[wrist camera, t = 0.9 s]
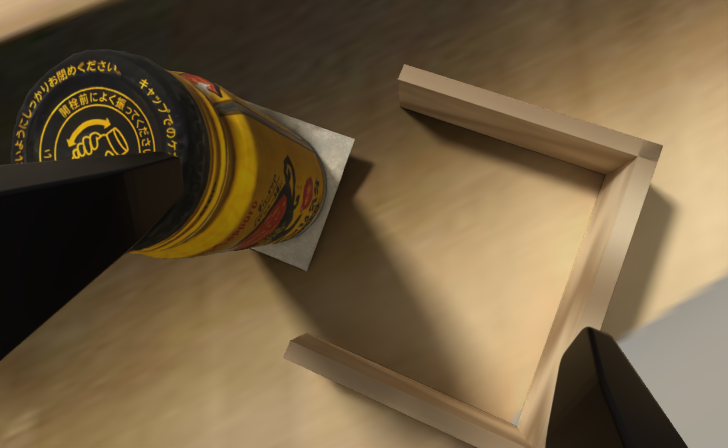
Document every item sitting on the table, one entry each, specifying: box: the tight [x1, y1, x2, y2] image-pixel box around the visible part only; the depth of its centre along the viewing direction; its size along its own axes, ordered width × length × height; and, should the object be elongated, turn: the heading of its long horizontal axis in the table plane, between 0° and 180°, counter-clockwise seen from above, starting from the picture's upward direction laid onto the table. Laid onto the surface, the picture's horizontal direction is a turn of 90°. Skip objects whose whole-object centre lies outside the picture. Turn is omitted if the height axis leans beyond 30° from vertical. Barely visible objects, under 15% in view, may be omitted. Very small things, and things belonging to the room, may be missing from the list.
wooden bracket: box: [283, 64, 663, 448], centre depth 19 cm, size 15×12×3 cm
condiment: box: [10, 49, 355, 271], centre depth 16 cm, size 7×8×12 cm
